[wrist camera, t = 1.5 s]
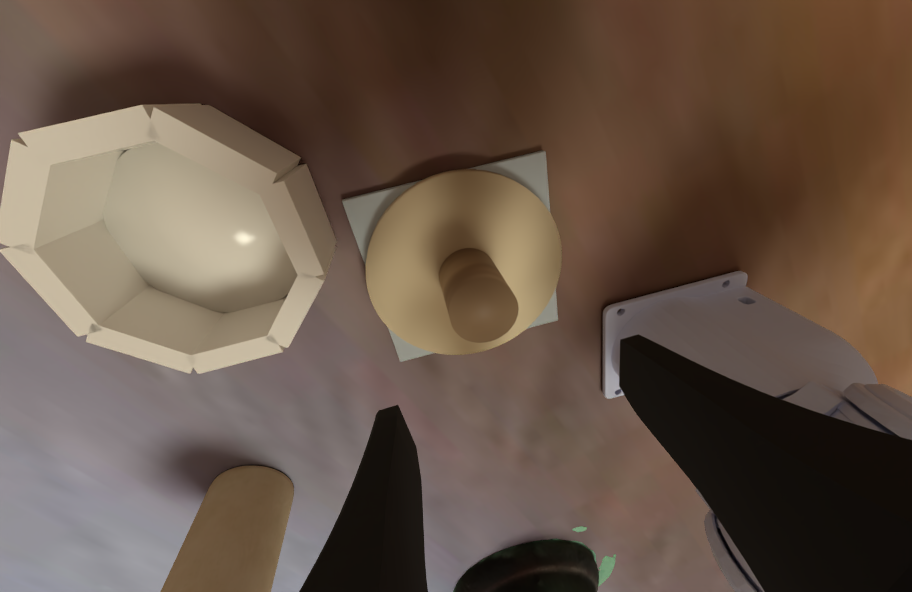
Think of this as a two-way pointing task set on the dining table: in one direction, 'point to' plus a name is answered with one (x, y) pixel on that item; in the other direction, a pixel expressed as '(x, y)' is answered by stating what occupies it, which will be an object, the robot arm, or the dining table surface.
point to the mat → (372, 205)
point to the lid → (463, 262)
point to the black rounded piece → (539, 569)
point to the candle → (235, 534)
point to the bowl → (167, 233)
